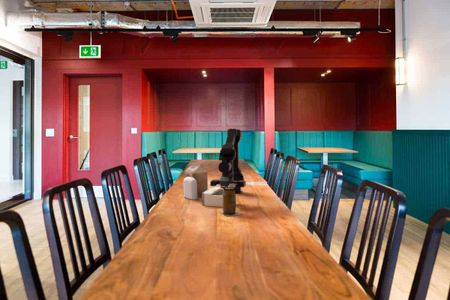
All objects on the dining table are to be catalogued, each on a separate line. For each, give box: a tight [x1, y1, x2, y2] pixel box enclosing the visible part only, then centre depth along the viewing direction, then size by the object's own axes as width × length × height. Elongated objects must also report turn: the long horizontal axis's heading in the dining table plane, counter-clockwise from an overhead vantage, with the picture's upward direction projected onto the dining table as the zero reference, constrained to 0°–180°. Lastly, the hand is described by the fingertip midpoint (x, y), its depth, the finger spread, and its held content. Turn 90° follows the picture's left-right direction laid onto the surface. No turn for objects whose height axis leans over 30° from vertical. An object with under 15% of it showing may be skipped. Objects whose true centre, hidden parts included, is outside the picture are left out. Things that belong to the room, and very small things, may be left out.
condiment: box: [219, 186, 241, 217], centre depth 137 cm, size 7×8×12 cm
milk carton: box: [183, 162, 209, 197], centre depth 179 cm, size 11×11×19 cm
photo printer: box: [182, 177, 198, 201], centre depth 169 cm, size 10×4×12 cm, turn 39°
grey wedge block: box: [201, 186, 224, 208], centre depth 159 cm, size 17×11×6 cm, turn 163°
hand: (228, 199), depth 157 cm, fingers closed
